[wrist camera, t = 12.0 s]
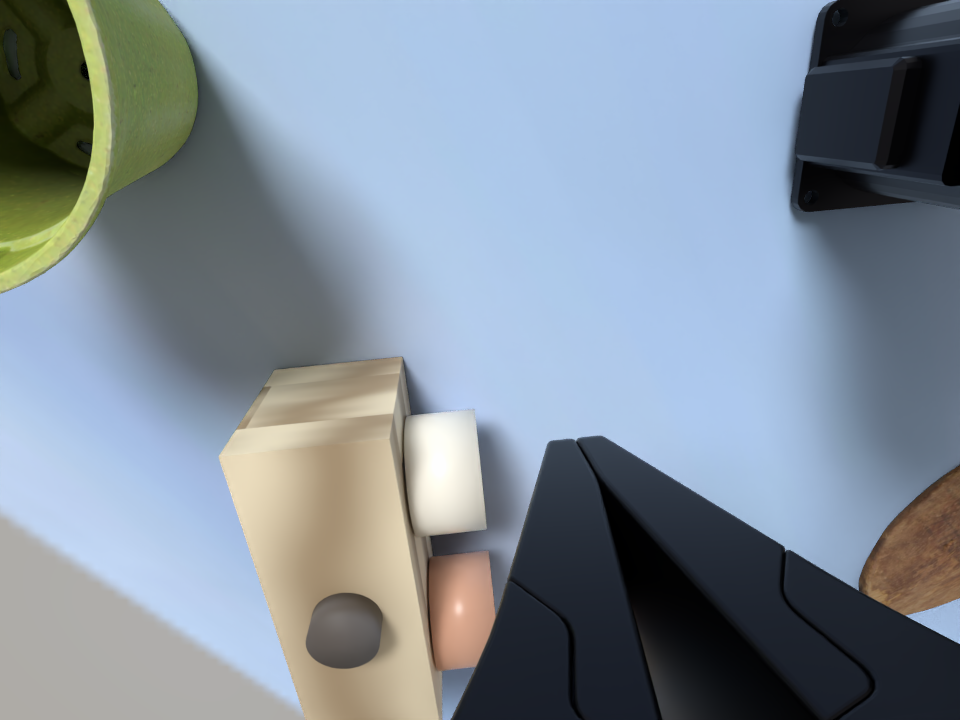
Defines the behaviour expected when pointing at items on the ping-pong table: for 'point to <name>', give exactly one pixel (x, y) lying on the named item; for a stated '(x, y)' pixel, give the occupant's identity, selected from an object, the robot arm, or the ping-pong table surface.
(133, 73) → the plant pot
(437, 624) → the knob
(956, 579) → the paddle
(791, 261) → the ping-pong table surface
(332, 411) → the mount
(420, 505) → the knob
